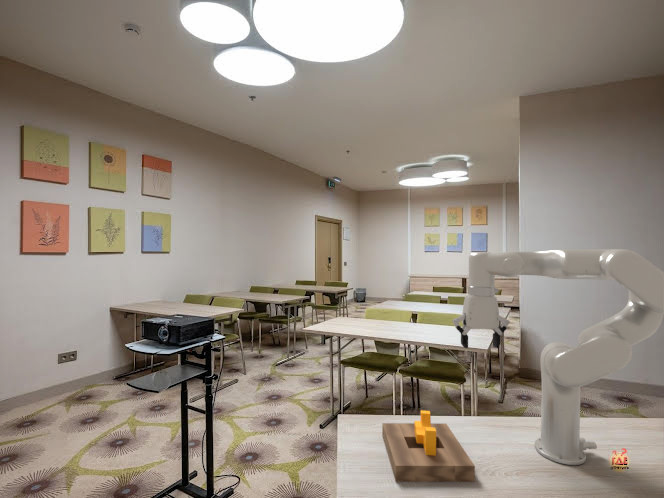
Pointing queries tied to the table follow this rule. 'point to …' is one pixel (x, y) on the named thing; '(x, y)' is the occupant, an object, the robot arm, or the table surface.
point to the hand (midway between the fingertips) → (480, 347)
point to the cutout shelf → (420, 467)
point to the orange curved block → (426, 433)
